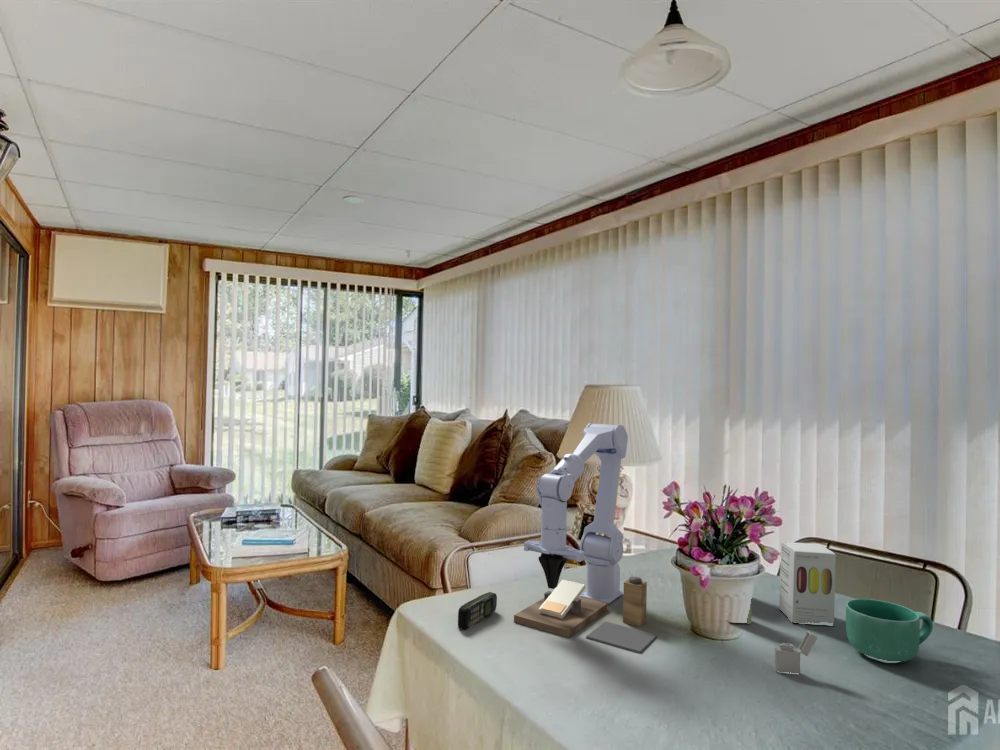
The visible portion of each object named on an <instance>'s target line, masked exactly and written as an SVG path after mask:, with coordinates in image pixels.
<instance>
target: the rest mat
mask: <svg viewBox="0 0 1000 750" xmlns="http://www.w3.org/2000/svg"><path fill="white" fill-rule="evenodd" d="M657 637H658V634H656V633H652V632H648V631H644V630H640V629H636V628H632V627H628V626H625V625H620V624H617V623H613V622H610V621H604V622H603V623H601V624H600V625H599V626H598V627H596V628H595V629H593V630H592V631H591V632H590V633H588V634H587V635H586V636H585V638H586V639H588V640H590V641H594V642H598V643H599V642H600V643H601V644H605V645H610V646H612V647H616V648H620V649H623V650H627V651H631V652H634V653H638V654H641V653H642V652H643V651H644V650H646V648H647V647H648V646H649V645H650V644H651V643H652V642H653V641H654V640H655V639H656V638H657Z"/></svg>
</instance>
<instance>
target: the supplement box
mask: <svg viewBox="0 0 1000 750" xmlns="http://www.w3.org/2000/svg"><path fill="white" fill-rule="evenodd" d="M836 556H837V554H836V553H835V552H834V551H832V550H830V549H829V548H827V547H825V546H824V545H822V544H821V543H808V542H791V541H781V543H780V569H779V570H780V574H779V601H778V602H779V605H778V607H779V608H778V609H779V611H780V610H781V611H782V612H783V613H784V614H785V615H786V616H787V617H788V618H787V617H786V616H785V615H784V614H783V613H782V612H781V611H780V612H781V613H782V614H783V615H784V616H785V617H786V618H787V619H788V620H789V622H790V623H792V622H794V623H795V622H796V623H806V622H807V623H808V622H810V623H812V622H813V623H820V622H828V623H834V624H835V603H836V602H835V600H836V599H835V598H836V597H835V595H836V563H837V559H836V558H837V557H836Z"/></svg>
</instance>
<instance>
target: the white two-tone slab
mask: <svg viewBox="0 0 1000 750" xmlns="http://www.w3.org/2000/svg"><path fill="white" fill-rule="evenodd" d="M585 589H586V584H584V583H579V582H576V581H572V580H571V581H570V580H566V579H561V581H560V582H558V585H557V587H556V588H554V589H553V590H552V591H551V592H552V593H551V594H550V595H549V597H548V598H547V599H546V600H545V602H544V603H543V604H542V605H541V606H540V608H539V613H543V614H547V615H550V616H554V617H558V618H562V619H563V617H564V616H565V615H566V613H567V612H568V611H569V609H570V608H571V607H572V605H573V600H575V599H576V598H578V597H579V596H580V595H581V594H583V593H584V592H585Z"/></svg>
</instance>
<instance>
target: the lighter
mask: <svg viewBox="0 0 1000 750" xmlns="http://www.w3.org/2000/svg"><path fill="white" fill-rule="evenodd" d="M817 639H818V636H817V635H816V634H815V633H813V632H812V631H810V630H807V632H806V634H805V635H804V637H803V638H802V641H801V642H800V644H799V646H798V648H794V644H793V643H785V642H782V643H780V644H779V646H774V670H775V669H776V671H779V672H789V673H790V672H791V673H800V674H801V654H802V655H804V656H806V657H808V656H809V654H810V652H811V651H812V649H813V647H814V645H815V644H816V642H817ZM776 671H775V672H776Z"/></svg>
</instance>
